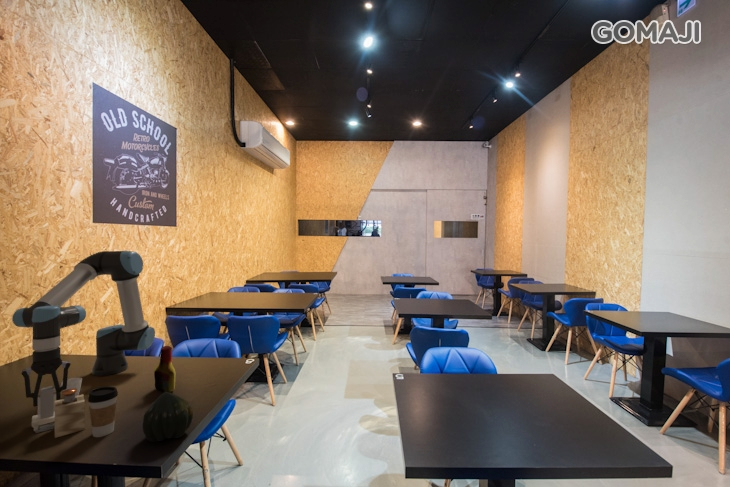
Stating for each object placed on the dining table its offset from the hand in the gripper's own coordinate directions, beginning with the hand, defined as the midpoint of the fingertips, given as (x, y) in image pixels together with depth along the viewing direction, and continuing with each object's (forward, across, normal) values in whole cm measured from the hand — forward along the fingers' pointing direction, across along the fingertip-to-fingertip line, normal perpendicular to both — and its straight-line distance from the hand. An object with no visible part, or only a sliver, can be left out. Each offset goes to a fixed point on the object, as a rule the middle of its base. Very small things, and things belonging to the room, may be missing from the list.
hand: (47, 412), depth 126 cm
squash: (+5, -31, +39) cm, 50 cm away
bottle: (+5, -39, -4) cm, 40 cm away
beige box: (+5, -6, +10) cm, 12 cm away
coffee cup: (+5, -15, +21) cm, 26 cm away
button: (-2, -6, +10) cm, 12 cm away
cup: (+5, -6, -21) cm, 23 cm away
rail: (+5, 0, -4) cm, 6 cm away
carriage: (+5, 0, 0) cm, 5 cm away
